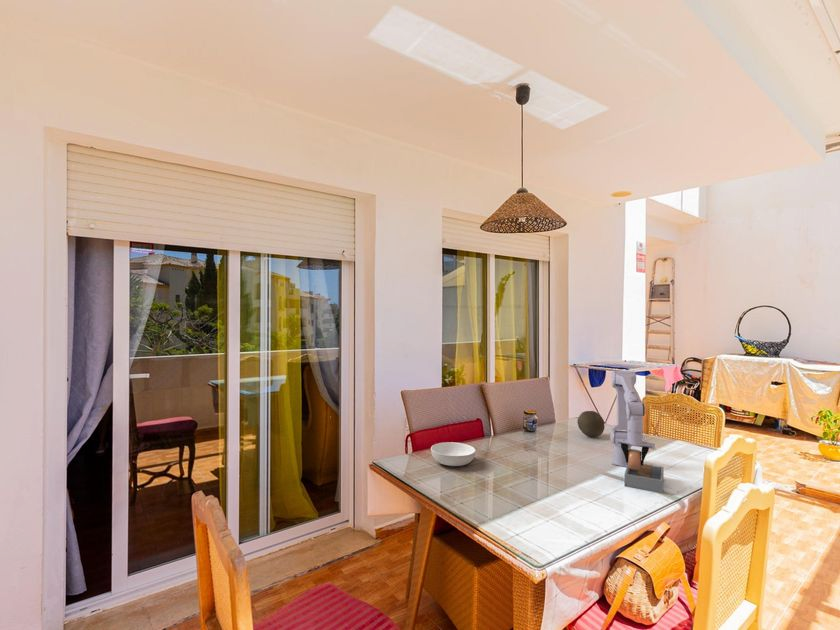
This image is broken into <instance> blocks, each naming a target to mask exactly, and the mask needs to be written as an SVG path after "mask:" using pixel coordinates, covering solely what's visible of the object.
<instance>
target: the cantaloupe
mask: <svg viewBox="0 0 840 630" xmlns="http://www.w3.org/2000/svg"><path fill="white" fill-rule="evenodd" d="M576 423H577V426H578V429H579V430H580V431H581V432H582V433H583V434H584V435H585V436H587V437H588V438H598V437H600V436H601V435H602V434H603V433H604V431H605V421H604V418H603V417H602V416H601V414H599V412H597V411H594V410H586V411H582V412H581V413H580V414H579V415H578V417H577V422H576Z"/></svg>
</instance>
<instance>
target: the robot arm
mask: <svg viewBox="0 0 840 630" xmlns="http://www.w3.org/2000/svg"><path fill="white" fill-rule="evenodd" d="M610 377H611V387H612V388H614V389H615V393H616V423H615V424H614V425H612V426H611V427H610V432H609V433H610V434H609V435H610V436H609V437H610V438H609V439H610V442H611V443H612V444H613V459H612V461H611V465H614V466H619V467H625V468H627V465H628V450H629V449H632V447H637V448H641V465H642V466H643V464H645V463H644V462H645V459H646V456H647V454H648V452H649V450H656V449H655V448H656V444H655V443H654V442H653V443H652V442H647V441H645V440H644V437H643V436H644V435H643V432H644V417H645V414H646V405H645V403H644V401H642V400H641V398H640V395H639V393H638V392H637V391H636V390H635V387H634V386H635V385H636V383H637V374H636V372H635V371H634V370H633V371H632V370H631V371H630V370H612V371H611V376H610ZM643 440H644V441H643Z"/></svg>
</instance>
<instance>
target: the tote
mask: <svg viewBox="0 0 840 630" xmlns="http://www.w3.org/2000/svg"><path fill="white" fill-rule="evenodd" d="M625 468H626V469H625V471H624V487H626V488H632V489H636V490H642V491H648V492H651V493H657V494H664V493H663V492H664V475H665V473H664V472H665V471H664V470H665V469H664V467H662V466H657V465H652V478H647V477H642V476H638V470H633V469H630V468H628V465H627V467H625Z"/></svg>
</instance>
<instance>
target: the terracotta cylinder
mask: <svg viewBox="0 0 840 630" xmlns="http://www.w3.org/2000/svg"><path fill="white" fill-rule="evenodd" d="M641 460H642V450H639V449H635V448H633V449H632V448H631V449H629V450H628V468H630V469H633V470H641Z"/></svg>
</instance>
